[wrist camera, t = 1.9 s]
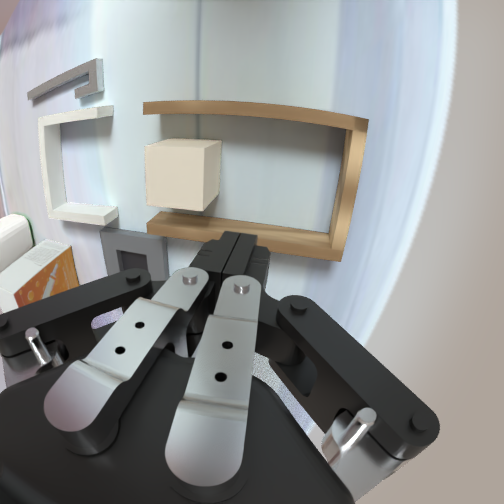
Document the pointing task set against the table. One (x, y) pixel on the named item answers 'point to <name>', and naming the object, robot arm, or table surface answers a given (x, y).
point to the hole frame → (135, 252)
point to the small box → (37, 275)
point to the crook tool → (91, 68)
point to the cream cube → (182, 173)
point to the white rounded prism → (14, 239)
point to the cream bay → (54, 170)
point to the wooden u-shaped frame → (268, 235)
